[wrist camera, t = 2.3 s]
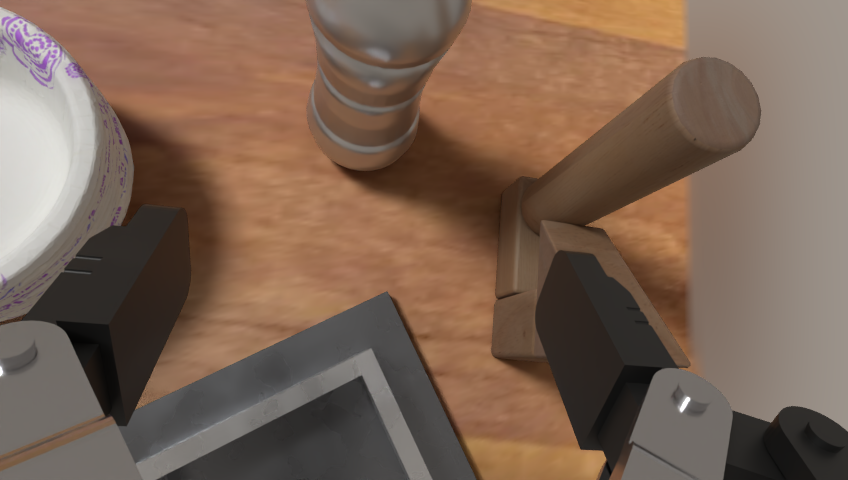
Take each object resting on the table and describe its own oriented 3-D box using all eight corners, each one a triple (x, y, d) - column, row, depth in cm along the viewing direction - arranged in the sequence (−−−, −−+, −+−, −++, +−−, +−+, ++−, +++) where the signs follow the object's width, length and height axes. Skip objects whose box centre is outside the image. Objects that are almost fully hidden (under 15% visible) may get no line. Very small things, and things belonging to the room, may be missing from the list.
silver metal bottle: (336, 68, 35) (352, -275, 16) (428, 116, 36) (551, -160, 16) (288, 150, 34) (242, -124, 14) (386, 199, 34) (468, -2, 15)
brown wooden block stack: (488, 357, 33) (669, 361, 16) (499, 191, 36) (668, 38, 18) (544, 362, 34) (779, 373, 16) (552, 199, 36) (763, 58, 19)
